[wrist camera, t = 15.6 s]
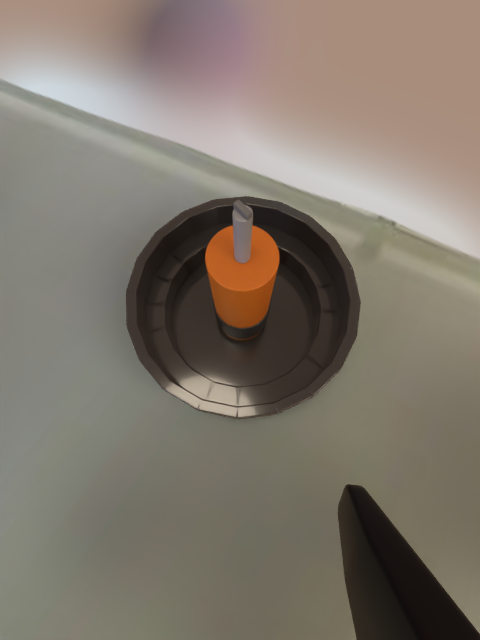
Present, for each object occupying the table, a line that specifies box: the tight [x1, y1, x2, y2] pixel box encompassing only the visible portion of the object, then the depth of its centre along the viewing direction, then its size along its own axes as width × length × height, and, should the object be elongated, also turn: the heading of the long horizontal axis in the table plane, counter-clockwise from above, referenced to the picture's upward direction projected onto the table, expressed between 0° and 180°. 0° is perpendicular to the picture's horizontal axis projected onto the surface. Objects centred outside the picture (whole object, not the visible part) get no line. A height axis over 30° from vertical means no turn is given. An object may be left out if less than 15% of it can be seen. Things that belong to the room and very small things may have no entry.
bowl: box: [126, 196, 361, 419], centre depth 22 cm, size 13×13×4 cm
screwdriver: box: [205, 199, 280, 340], centre depth 17 cm, size 3×3×12 cm
